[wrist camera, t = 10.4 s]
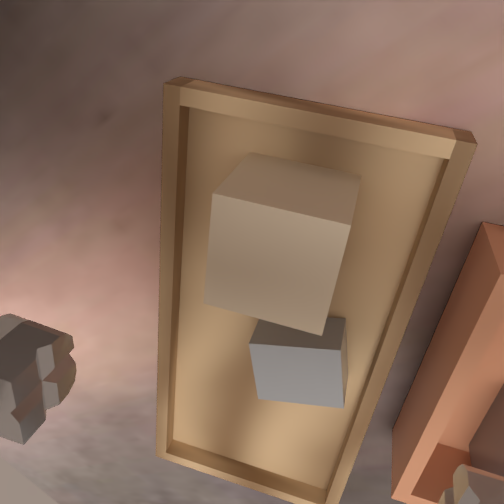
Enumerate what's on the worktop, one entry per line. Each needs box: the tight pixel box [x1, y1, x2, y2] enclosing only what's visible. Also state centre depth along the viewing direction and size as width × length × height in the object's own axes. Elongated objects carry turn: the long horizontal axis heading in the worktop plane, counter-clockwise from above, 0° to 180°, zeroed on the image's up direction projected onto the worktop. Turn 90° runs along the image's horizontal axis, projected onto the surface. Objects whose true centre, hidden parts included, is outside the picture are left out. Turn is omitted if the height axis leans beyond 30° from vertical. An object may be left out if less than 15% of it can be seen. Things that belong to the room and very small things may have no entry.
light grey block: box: [249, 317, 348, 409], centre depth 19 cm, size 4×3×2 cm
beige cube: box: [203, 152, 361, 336], centre depth 16 cm, size 4×4×4 cm
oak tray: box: [156, 77, 477, 504], centre depth 20 cm, size 10×20×1 cm, turn 173°
